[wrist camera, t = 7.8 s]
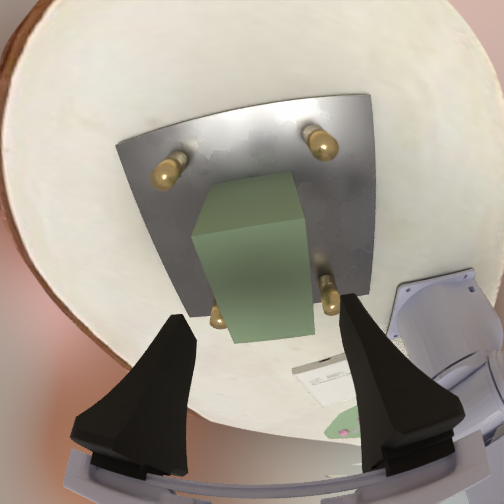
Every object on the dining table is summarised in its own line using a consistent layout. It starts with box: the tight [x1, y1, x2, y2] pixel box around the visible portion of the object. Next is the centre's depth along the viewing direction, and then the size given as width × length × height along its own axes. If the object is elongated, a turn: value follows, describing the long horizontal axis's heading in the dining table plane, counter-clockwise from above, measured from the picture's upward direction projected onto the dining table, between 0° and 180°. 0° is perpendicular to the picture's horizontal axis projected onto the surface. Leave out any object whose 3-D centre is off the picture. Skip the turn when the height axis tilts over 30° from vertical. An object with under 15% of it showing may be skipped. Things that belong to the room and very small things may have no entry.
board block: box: [191, 171, 315, 344], centre depth 17 cm, size 5×8×6 cm, turn 12°
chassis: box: [115, 94, 376, 329], centre depth 18 cm, size 16×16×4 cm
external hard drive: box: [292, 353, 356, 407], centre depth 32 cm, size 2×8×12 cm
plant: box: [324, 406, 361, 439], centre depth 41 cm, size 25×21×9 cm
